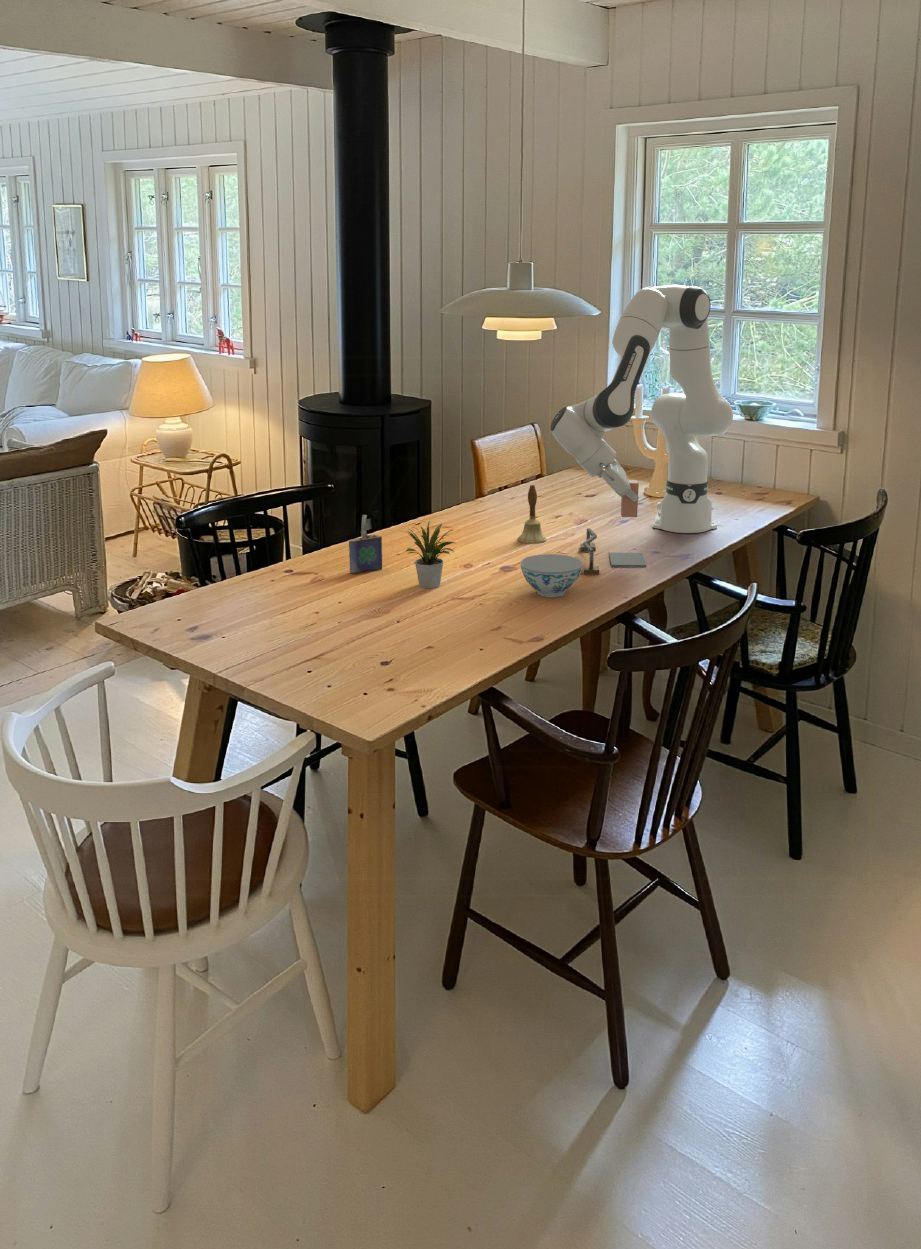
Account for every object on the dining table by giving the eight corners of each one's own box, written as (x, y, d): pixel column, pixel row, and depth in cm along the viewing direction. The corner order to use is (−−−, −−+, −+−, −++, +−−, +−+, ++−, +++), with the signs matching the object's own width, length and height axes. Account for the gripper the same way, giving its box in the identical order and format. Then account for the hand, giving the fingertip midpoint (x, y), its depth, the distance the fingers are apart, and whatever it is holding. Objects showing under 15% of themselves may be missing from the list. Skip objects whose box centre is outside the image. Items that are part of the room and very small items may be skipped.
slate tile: (608, 554, 299) (609, 552, 299) (642, 554, 298) (642, 552, 298) (611, 566, 287) (611, 564, 287) (646, 567, 287) (646, 565, 287)
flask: (352, 575, 283) (350, 534, 279) (347, 572, 285) (345, 532, 282) (384, 569, 287) (383, 530, 284) (379, 567, 290) (378, 527, 286)
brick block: (620, 513, 291) (622, 480, 288) (635, 513, 290) (637, 480, 287) (621, 517, 287) (623, 483, 284) (637, 517, 287) (638, 483, 284)
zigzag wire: (580, 547, 306) (581, 526, 304) (594, 547, 306) (595, 526, 304) (583, 574, 281) (584, 551, 279) (599, 574, 281) (600, 551, 279)
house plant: (409, 598, 264) (407, 532, 259) (389, 582, 276) (387, 519, 271) (463, 590, 270) (462, 525, 264) (441, 575, 282) (440, 513, 276)
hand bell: (544, 544, 310) (545, 488, 304) (515, 543, 311) (516, 487, 306) (548, 536, 317) (549, 482, 312) (520, 535, 319) (520, 481, 314)
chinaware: (587, 601, 260) (588, 570, 258) (524, 603, 259) (524, 572, 257) (575, 582, 275) (576, 553, 272) (516, 584, 273) (516, 555, 271)
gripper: (610, 459, 274) (648, 498, 276) (606, 444, 293) (641, 481, 296) (592, 476, 276) (630, 515, 278) (589, 461, 295) (624, 497, 297)
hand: (635, 497), depth 287 cm, fingers closed on brick block, 4 cm apart
